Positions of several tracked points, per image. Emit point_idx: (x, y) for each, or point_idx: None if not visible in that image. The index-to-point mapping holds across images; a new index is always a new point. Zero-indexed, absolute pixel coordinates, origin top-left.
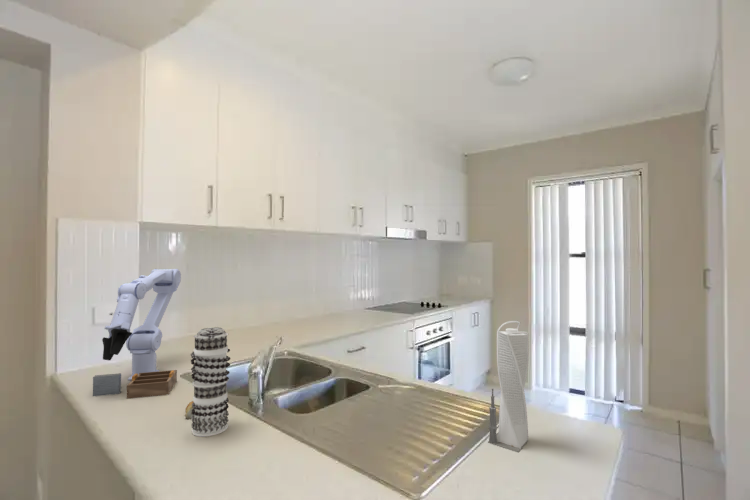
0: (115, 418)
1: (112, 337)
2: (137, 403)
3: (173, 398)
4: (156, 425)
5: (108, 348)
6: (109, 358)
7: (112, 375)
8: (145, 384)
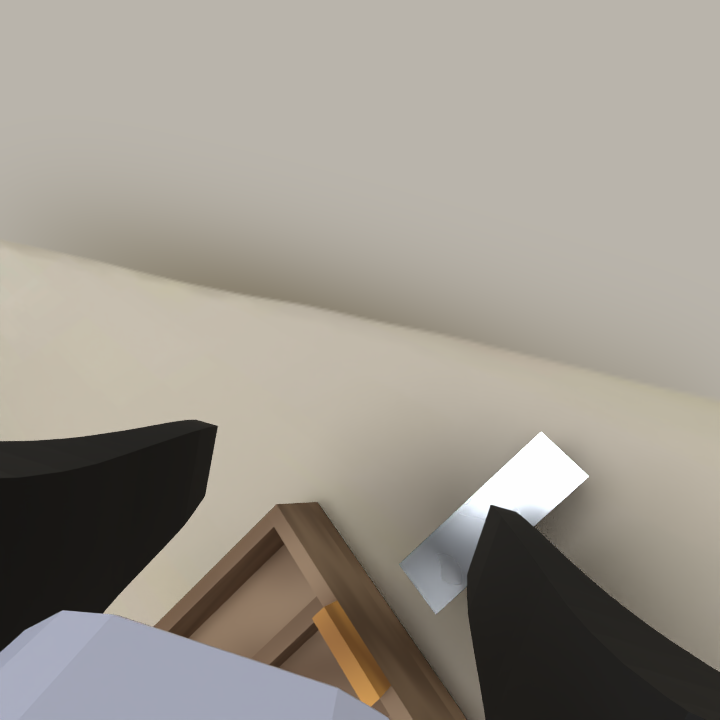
0: (180, 344)
1: (28, 455)
2: (222, 480)
3: (132, 596)
4: (48, 379)
5: (530, 639)
6: (473, 570)
7: (435, 533)
8: (208, 573)
